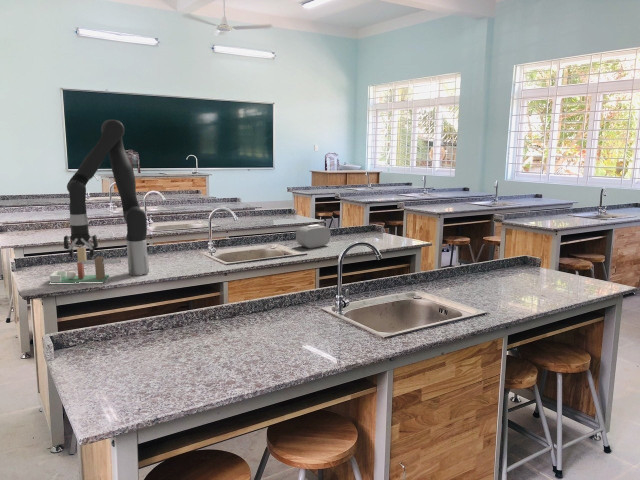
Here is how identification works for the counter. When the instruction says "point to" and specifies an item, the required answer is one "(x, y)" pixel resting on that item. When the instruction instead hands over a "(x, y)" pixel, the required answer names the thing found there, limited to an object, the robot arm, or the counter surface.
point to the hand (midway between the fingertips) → (82, 257)
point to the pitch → (99, 277)
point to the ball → (71, 274)
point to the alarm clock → (313, 236)
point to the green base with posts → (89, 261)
